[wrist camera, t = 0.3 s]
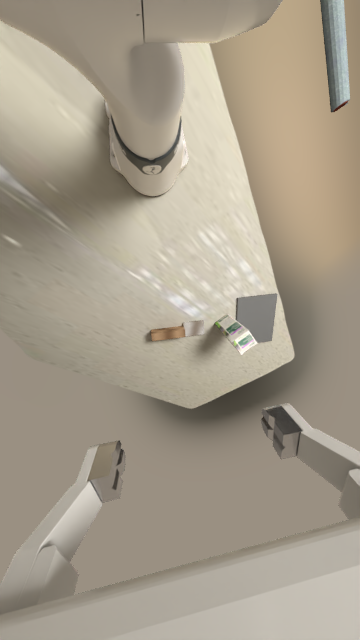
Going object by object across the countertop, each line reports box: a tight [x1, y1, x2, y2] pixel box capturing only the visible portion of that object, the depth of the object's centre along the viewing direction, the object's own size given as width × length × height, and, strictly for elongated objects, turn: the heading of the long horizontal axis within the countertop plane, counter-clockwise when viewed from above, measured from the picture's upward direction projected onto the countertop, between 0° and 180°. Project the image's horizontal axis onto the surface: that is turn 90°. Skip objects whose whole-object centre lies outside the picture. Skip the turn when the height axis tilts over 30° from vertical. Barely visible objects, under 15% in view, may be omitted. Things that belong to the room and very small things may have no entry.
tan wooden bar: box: [151, 320, 204, 341], centre depth 57 cm, size 18×5×4 cm, turn 95°
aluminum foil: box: [320, 0, 350, 112], centre depth 38 cm, size 23×7×3 cm, turn 26°
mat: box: [236, 294, 277, 343], centre depth 61 cm, size 18×14×1 cm
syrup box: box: [215, 314, 257, 355], centre depth 53 cm, size 6×6×14 cm
